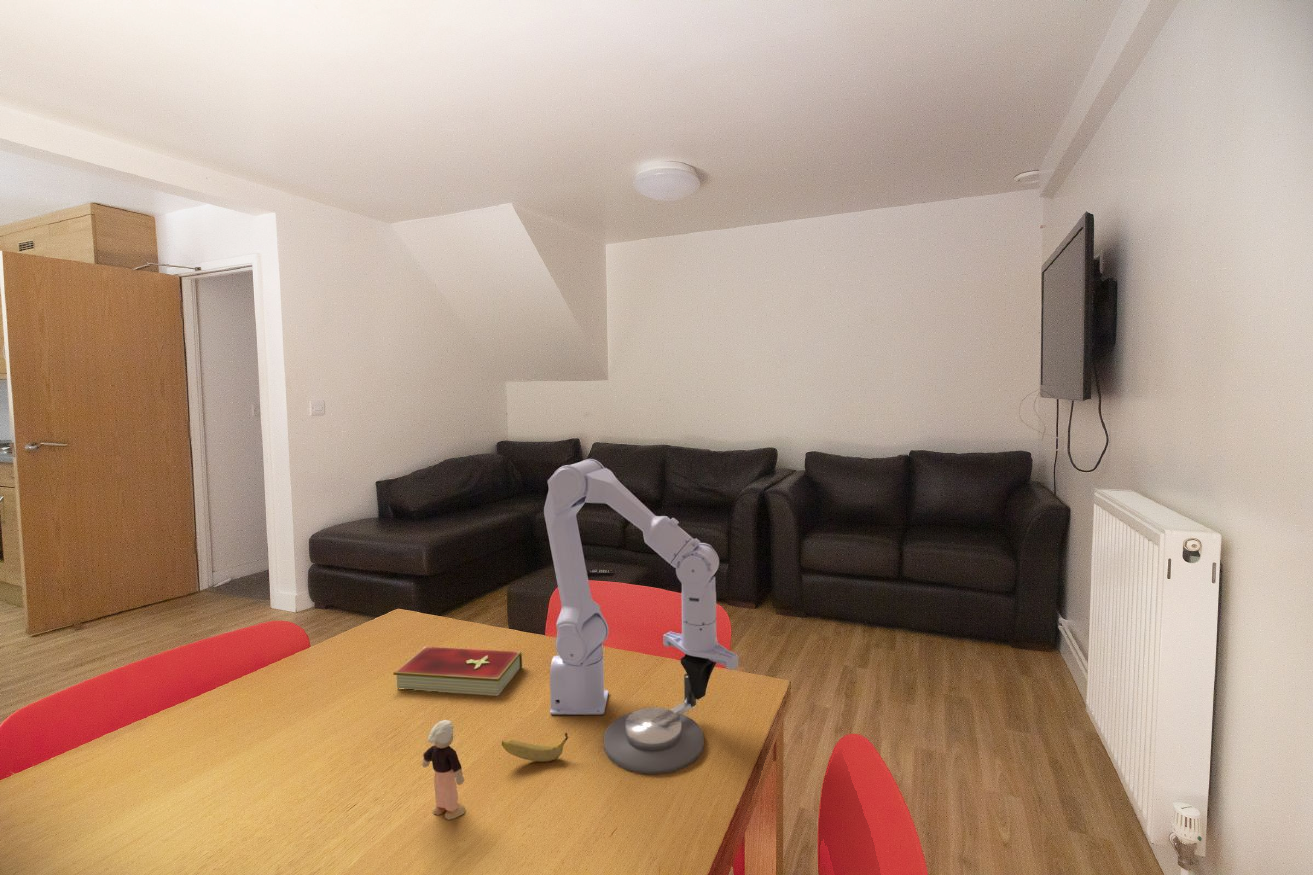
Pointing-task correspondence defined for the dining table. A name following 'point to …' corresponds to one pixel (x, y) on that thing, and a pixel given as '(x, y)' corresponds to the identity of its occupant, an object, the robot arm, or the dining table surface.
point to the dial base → (653, 759)
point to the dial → (659, 723)
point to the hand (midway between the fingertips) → (699, 696)
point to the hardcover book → (459, 670)
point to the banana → (534, 750)
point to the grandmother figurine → (444, 770)
